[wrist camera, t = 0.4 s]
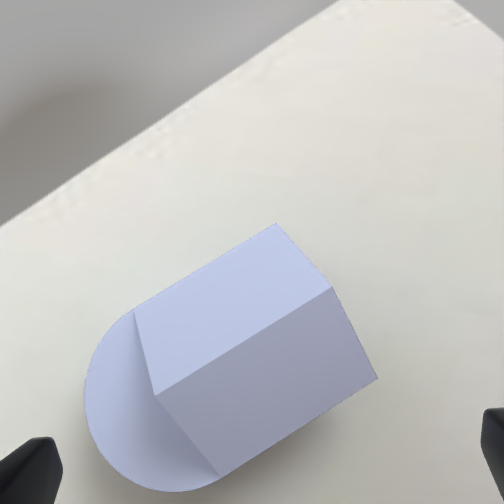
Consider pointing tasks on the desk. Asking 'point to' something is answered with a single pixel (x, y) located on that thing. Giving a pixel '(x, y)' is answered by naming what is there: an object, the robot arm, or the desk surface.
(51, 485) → the robot arm
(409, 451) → the desk surface
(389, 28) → the desk surface
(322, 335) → the wedge on round base
